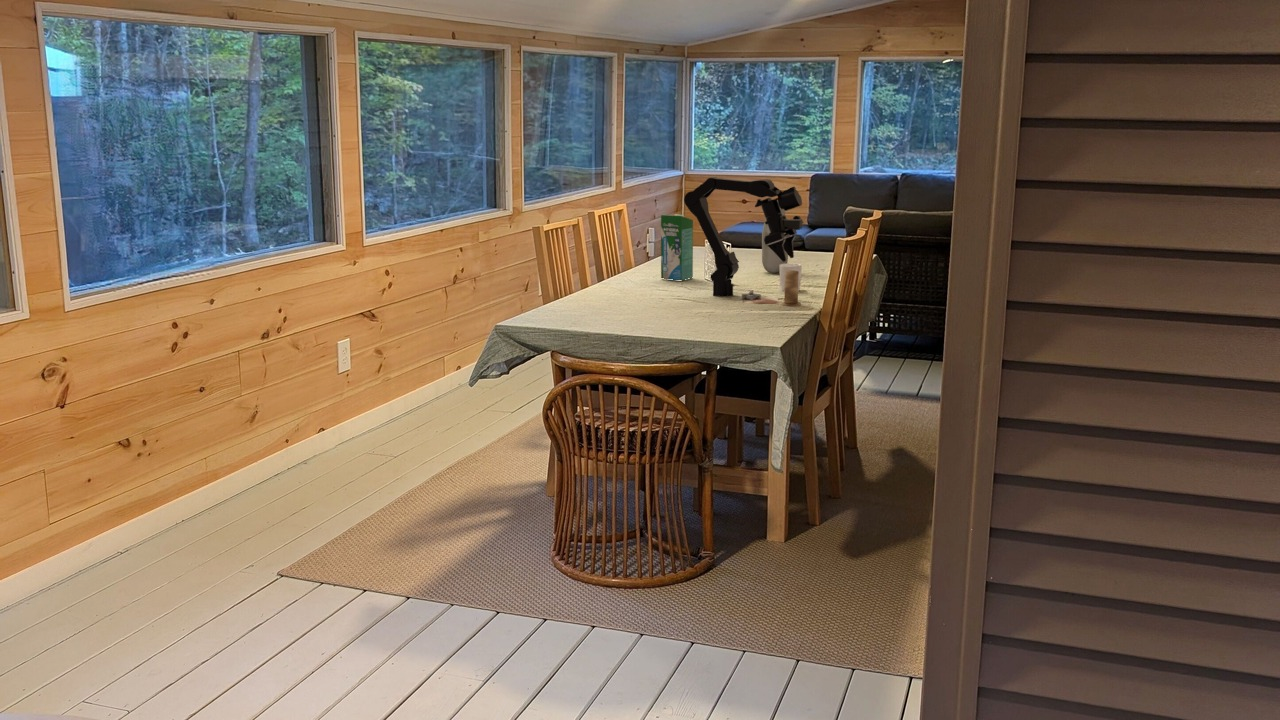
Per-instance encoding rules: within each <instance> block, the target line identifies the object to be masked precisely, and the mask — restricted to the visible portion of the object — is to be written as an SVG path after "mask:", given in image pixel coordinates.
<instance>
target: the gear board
mask: <svg viewBox="0 0 1280 720" xmlns="http://www.w3.org/2000/svg"><path fill="white" fill-rule="evenodd" d="M741 300H742V301H741V302H742V304H743V305H779V304H780V303H779V298H778V296H761V299H760V300H743V299H742V298H741Z"/></svg>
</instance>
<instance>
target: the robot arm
mask: <svg viewBox="0 0 1280 720" xmlns="http://www.w3.org/2000/svg"><path fill="white" fill-rule="evenodd" d="M715 190H718V191H719V190H721V191H729V192H730V191H731V192H737V193H739V192H740V193H746V194H749V195H751V196H754V197H757V200H756V203H755V204H754V207H755V208H759V207H761V210H762V212H763V215H764V219H765V218H766V222H765V221H764V222H765V224H768V227H769V230H770V233H769V235H767V236H765V238H764V242H765V245H766V244H769V243H771V244H770V245H767V246H768V247H769V248H770V249H771V250H772V251H773V252H774V253H775V254H776V255H777V256H778V257H779V258H780V259H781V260H782V261H783V262H784V261H786V256H785V251H786V253H787V254H788V258H790V259H793V258H794V256H795V254H794V240H795V238H796V237H797V234H798V232H797V231H798V230H799V231H800V230H802V229H803V224H804V221H803V218H802V217H801V216H800V215H794V216H793V218H787V216H786V215H785V216H784V215H782V212H781V209H784V210H785V212H787V211H790V210H792V209H795V208H798V207H799V208H800V207H801V206H802V205H803V201H802V200H803V199H802V197H801V195H800V193H799V191H798V190H797V188H796V187H795V186H791V187H789V188H787V189H785V190H783V191H782V190H781V189H779V188H778V187H776V186H775V183H774V182H773V180H771V179H769V178H766V179H754V180H742V179H731V178H722V177H717V176H712V177H708V178H707V179H706V180H705V181H704V182H702V184H700V185H699V186H697V187H696V188H695V189H694V190H691V191H688V192H686V193H685V195H684V198H683V202H684V204H685V206H686V207H687V209H688V211H689V212H691V214H692V215H693V216H694V217H695V218H696V219H697V221H698V223H699V225H700V227H701V230H702V232H703V234H704V236H705V238H706V240H707V243H708V244H709V247H710V249H711V250H712V253H713V255H714V264H715V265H714V266H715V268H716V269H715V271H714V272H713V273H711V274H710V280H711V281H712V282H713V284H712V288H713V289H712V293H713V294H712V296H714V297H733V296H734V283H732V280H733V278H734V275H735V274H736V273H737V272H738V271H739V268H740V265H739V263H740V260H739V259H737V257H736V253H735V251H731V252H730V251H729V250H727V248H726V246H725V244H724V242H723V239H722V237H721V235H720V233H719V231H718V228H717V226H716V224H715V223H714V220H713V219H712V216H711V215H710V211H709V203H708V202H709V201H708V200H707V199H708V198H709V197H710V196H711V195H712V194H713V192H714V191H715ZM766 197H767V198H766ZM774 197H776V198H774ZM761 198H764V199H761ZM772 198H773V199H772ZM778 203H779V204H778ZM780 208H781V209H780ZM779 213H780V214H779ZM784 250H785V251H784Z"/></svg>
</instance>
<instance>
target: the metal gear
mask: <svg viewBox="0 0 1280 720" xmlns="http://www.w3.org/2000/svg"><path fill="white" fill-rule="evenodd" d="M761 297H762V294H759V293H754V289H749V292H747V293H742V294H741V300H742V299H743V300H760V299H761Z"/></svg>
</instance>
